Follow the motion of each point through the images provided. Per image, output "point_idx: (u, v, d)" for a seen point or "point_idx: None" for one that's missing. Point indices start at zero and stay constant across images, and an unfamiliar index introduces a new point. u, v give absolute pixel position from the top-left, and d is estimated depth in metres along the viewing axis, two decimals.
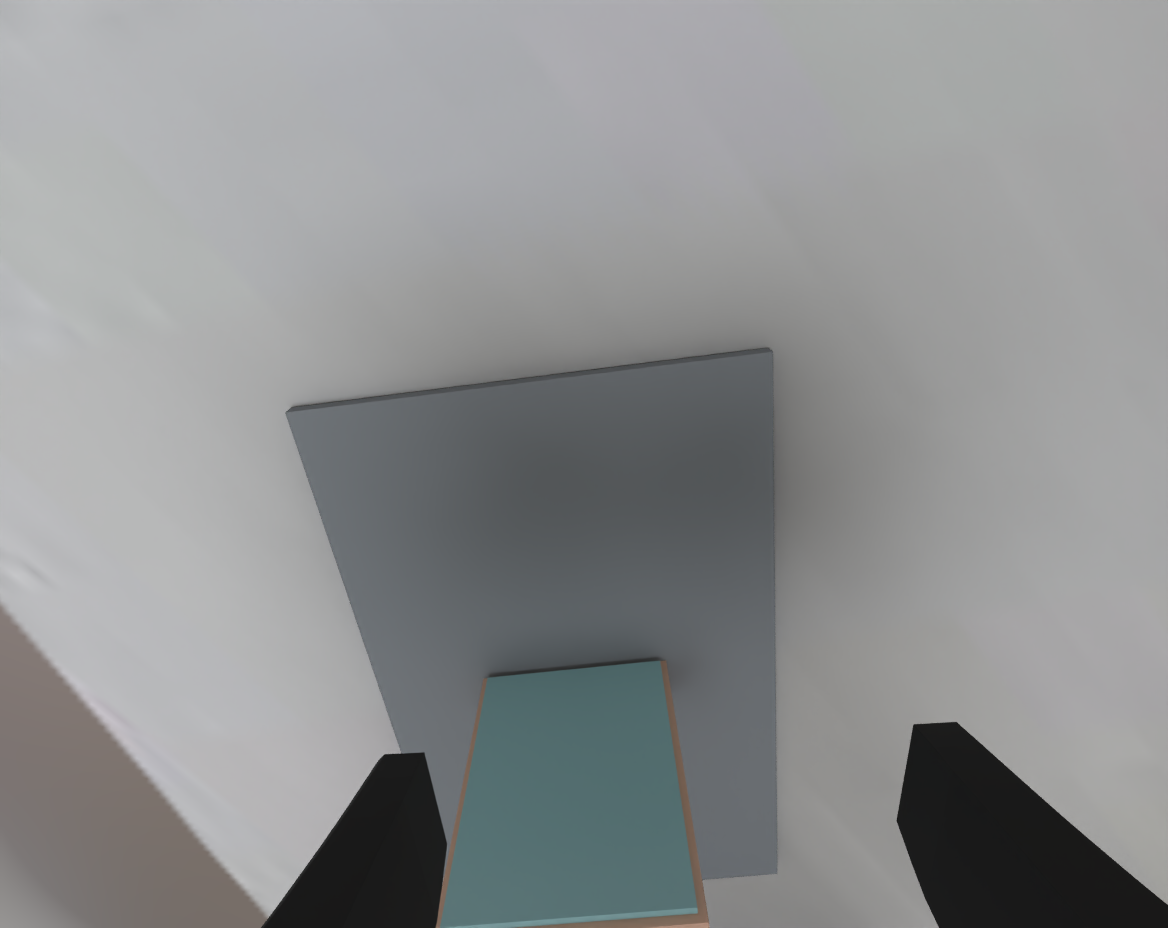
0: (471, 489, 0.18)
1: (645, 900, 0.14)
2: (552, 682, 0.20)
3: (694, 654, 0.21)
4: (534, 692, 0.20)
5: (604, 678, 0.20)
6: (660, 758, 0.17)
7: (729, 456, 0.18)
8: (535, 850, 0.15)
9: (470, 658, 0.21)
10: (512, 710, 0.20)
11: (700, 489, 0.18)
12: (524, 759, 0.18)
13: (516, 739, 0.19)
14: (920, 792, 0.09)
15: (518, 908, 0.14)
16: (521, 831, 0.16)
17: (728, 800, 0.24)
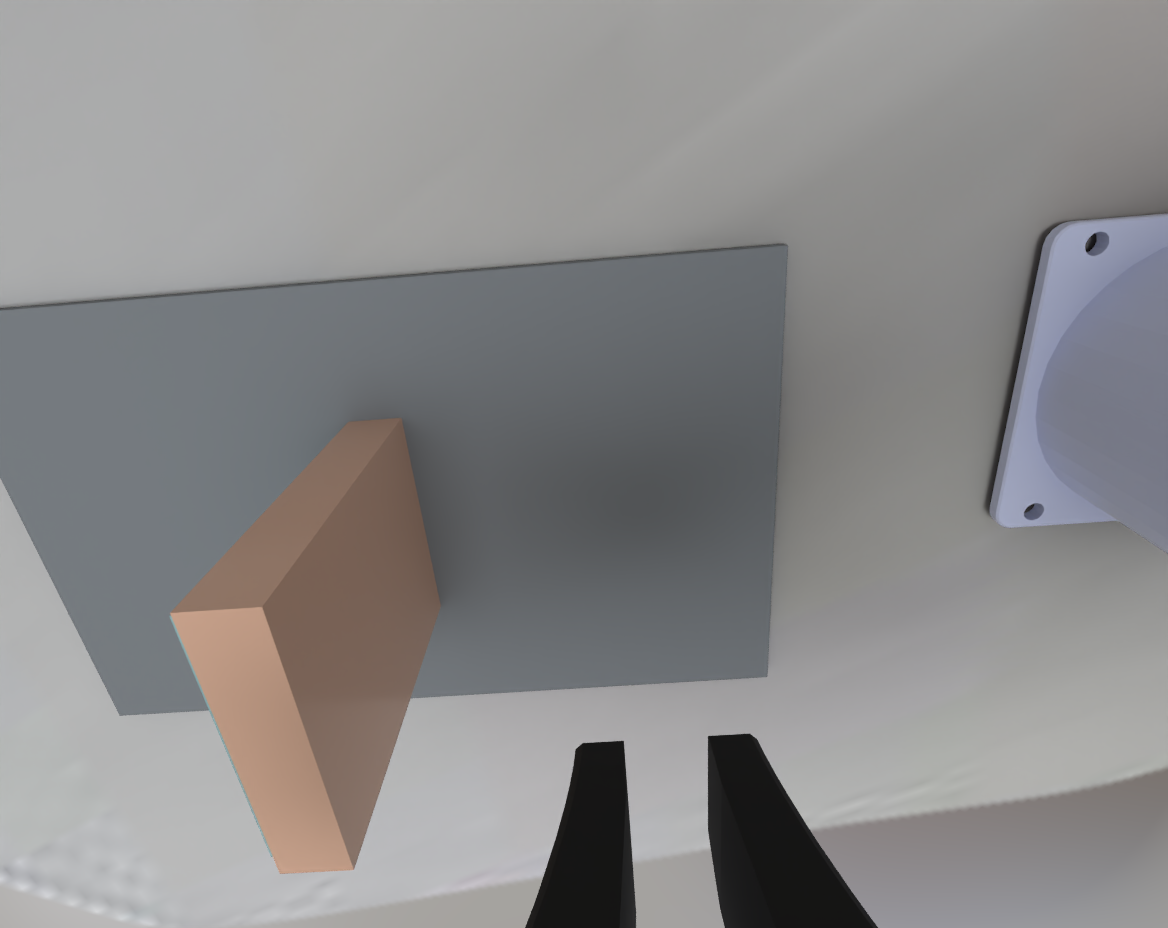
0: (158, 596, 0.19)
1: None
2: None
3: (335, 388, 0.17)
4: None
5: None
6: None
7: (52, 357, 0.16)
8: None
9: None
10: None
11: (101, 386, 0.17)
12: None
13: None
14: (713, 803, 0.09)
15: None
16: None
17: (603, 335, 0.16)
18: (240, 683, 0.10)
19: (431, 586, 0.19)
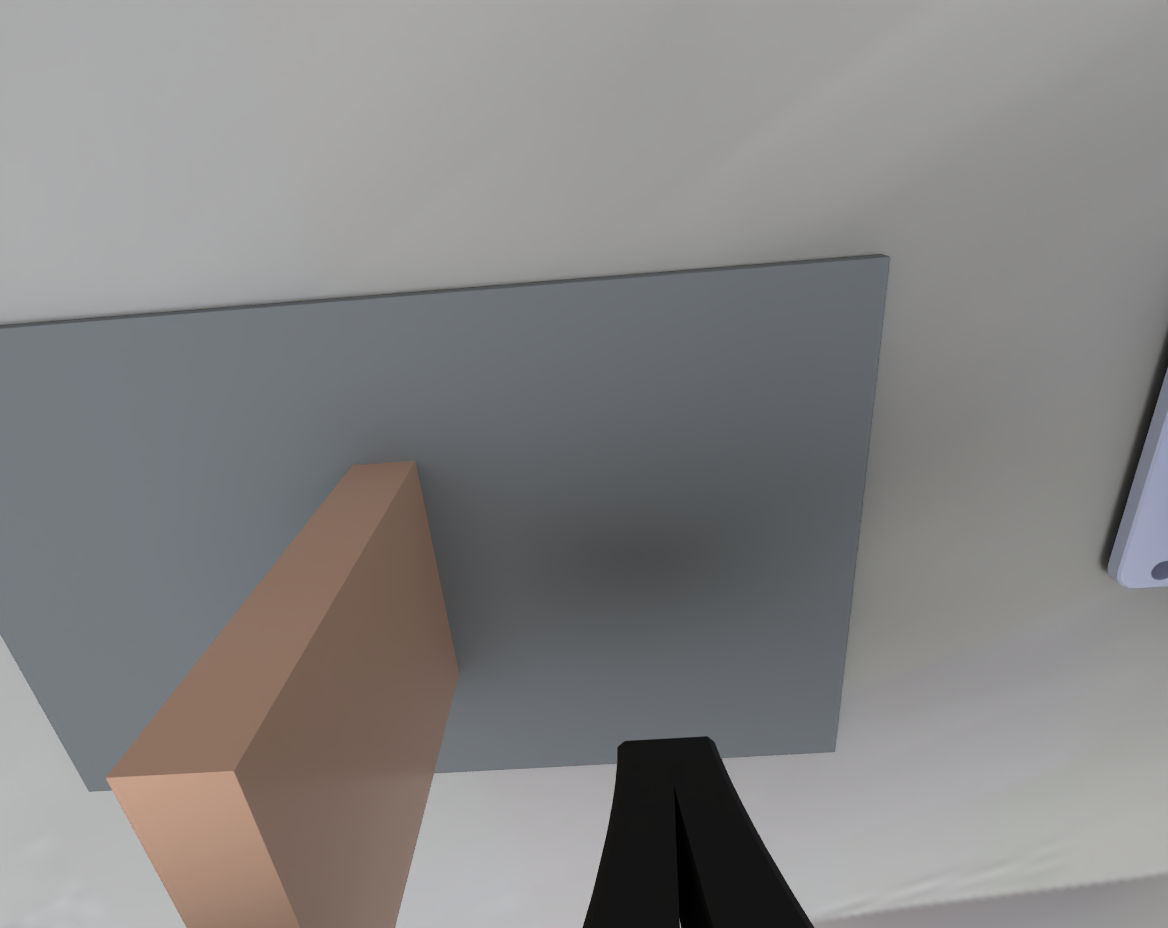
0: (130, 662, 0.17)
1: None
2: None
3: (336, 425, 0.14)
4: None
5: None
6: None
7: None
8: None
9: None
10: None
11: (56, 423, 0.14)
12: None
13: None
14: None
15: None
16: None
17: (661, 363, 0.13)
18: (207, 861, 0.07)
19: (449, 653, 0.16)
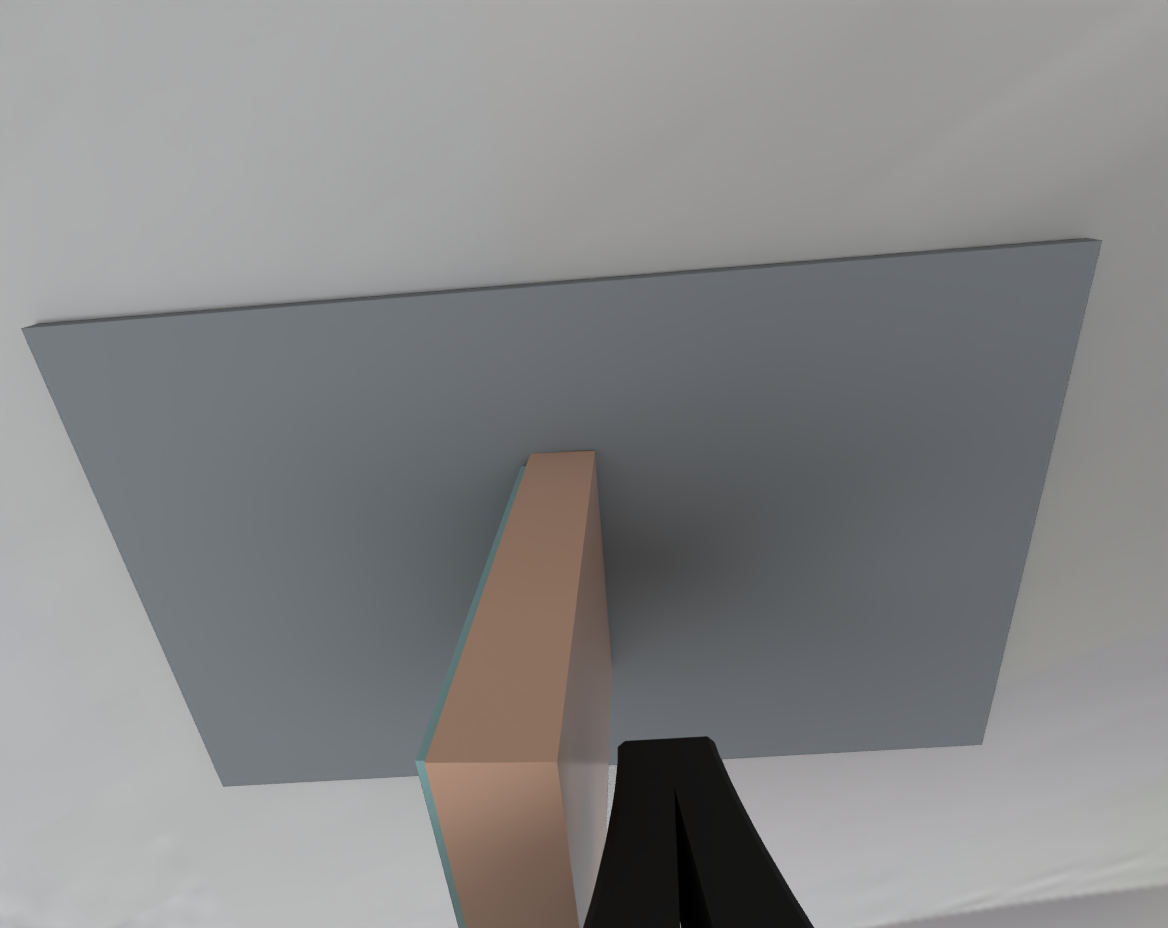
0: (281, 654, 0.16)
1: None
2: None
3: (519, 413, 0.14)
4: None
5: None
6: None
7: (179, 376, 0.13)
8: None
9: None
10: None
11: (236, 412, 0.14)
12: None
13: None
14: None
15: None
16: None
17: (856, 349, 0.13)
18: (504, 851, 0.07)
19: (609, 648, 0.16)
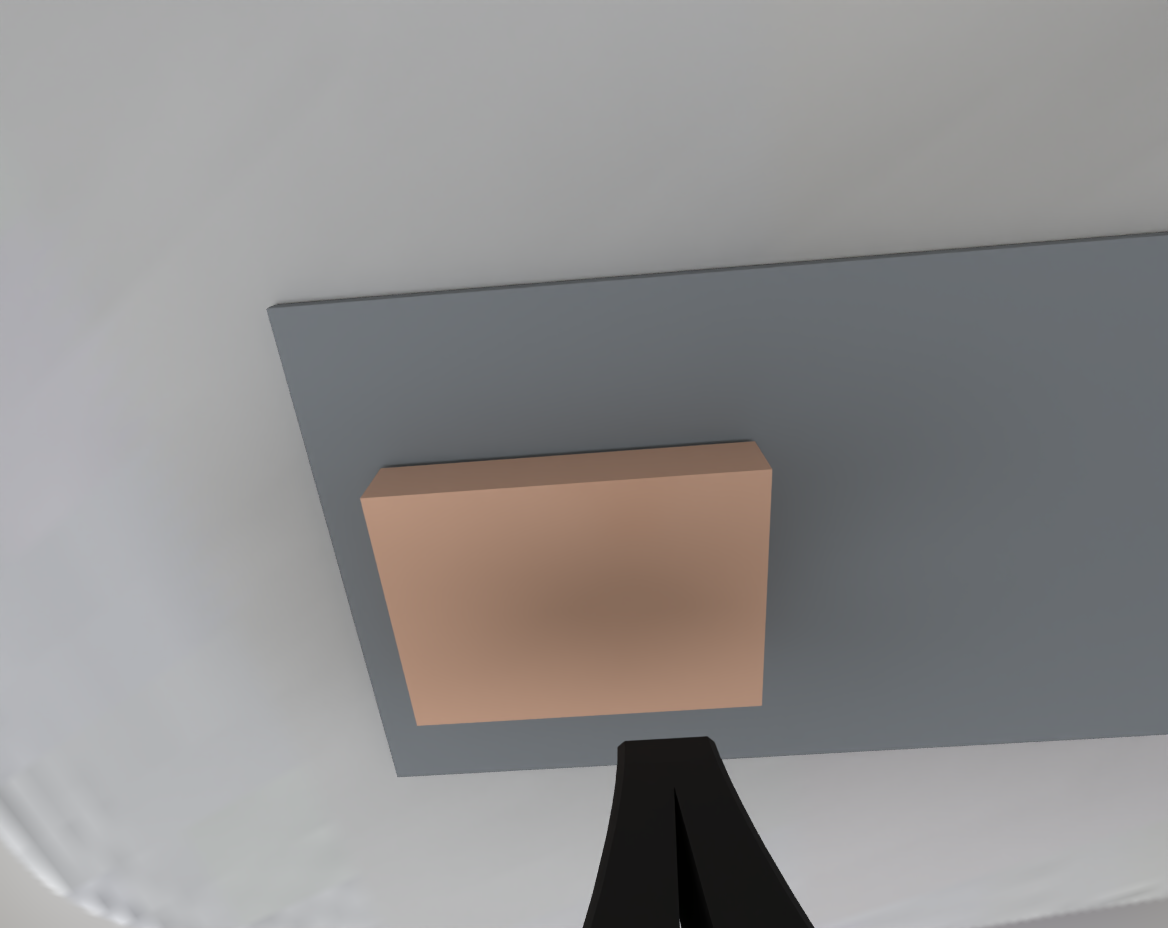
0: None
1: None
2: None
3: (758, 396, 0.13)
4: None
5: None
6: None
7: (419, 357, 0.13)
8: None
9: None
10: None
11: (471, 394, 0.13)
12: None
13: None
14: None
15: None
16: None
17: (1110, 330, 0.13)
18: None
19: (744, 673, 0.14)
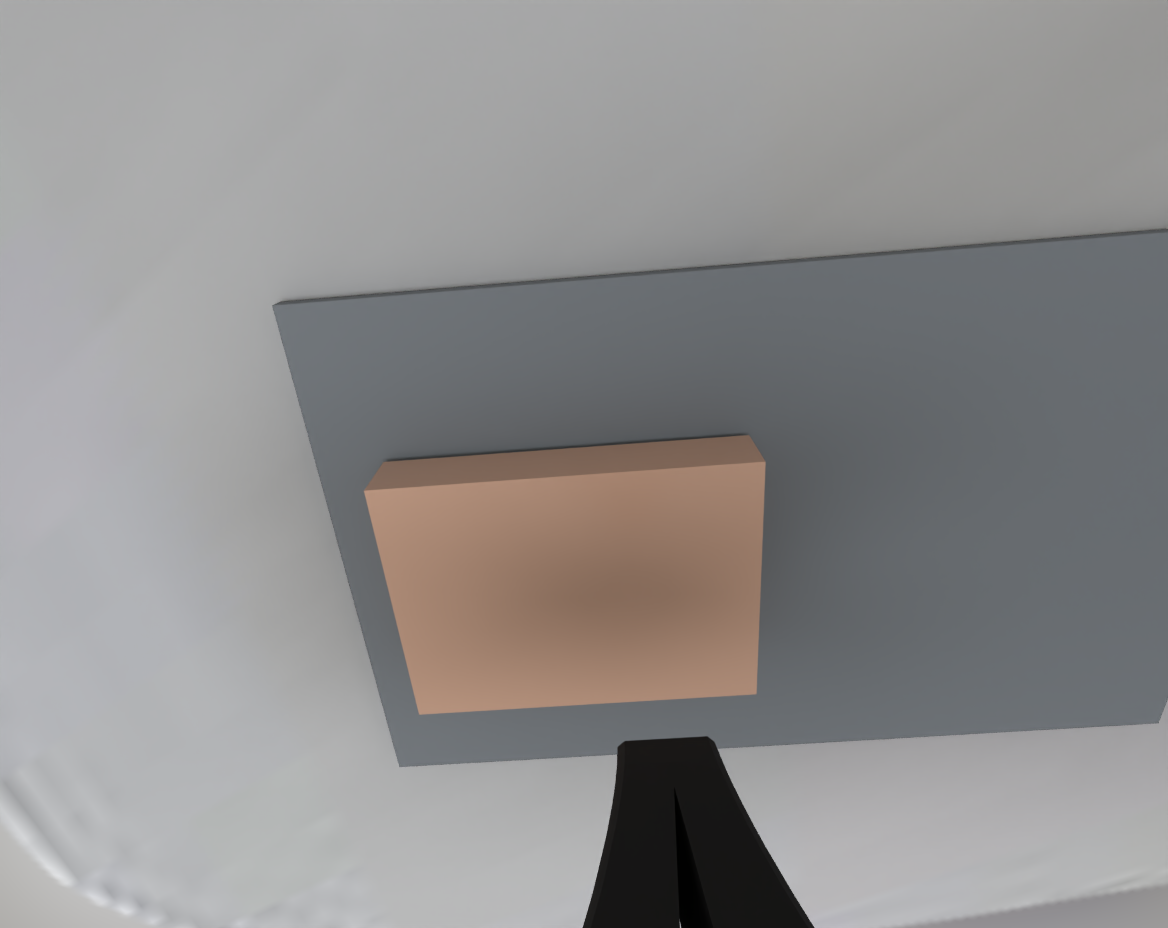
0: None
1: None
2: None
3: (752, 391, 0.14)
4: None
5: None
6: None
7: (421, 353, 0.13)
8: None
9: None
10: None
11: (472, 389, 0.14)
12: None
13: None
14: None
15: None
16: None
17: (1094, 326, 0.13)
18: None
19: (739, 661, 0.15)
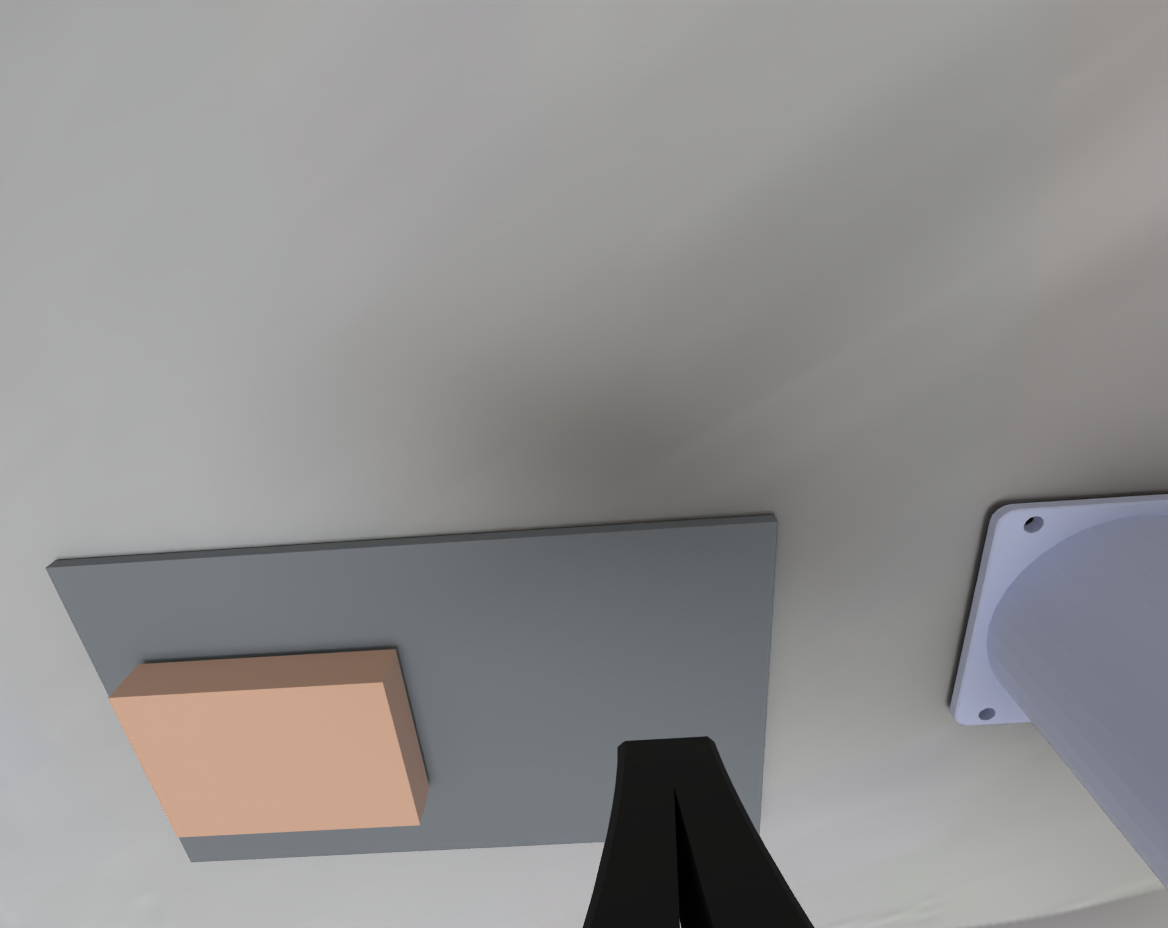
0: None
1: None
2: None
3: (394, 620, 0.20)
4: None
5: None
6: None
7: (155, 596, 0.19)
8: None
9: None
10: None
11: (195, 618, 0.19)
12: None
13: None
14: None
15: None
16: None
17: (623, 583, 0.19)
18: None
19: (401, 804, 0.21)
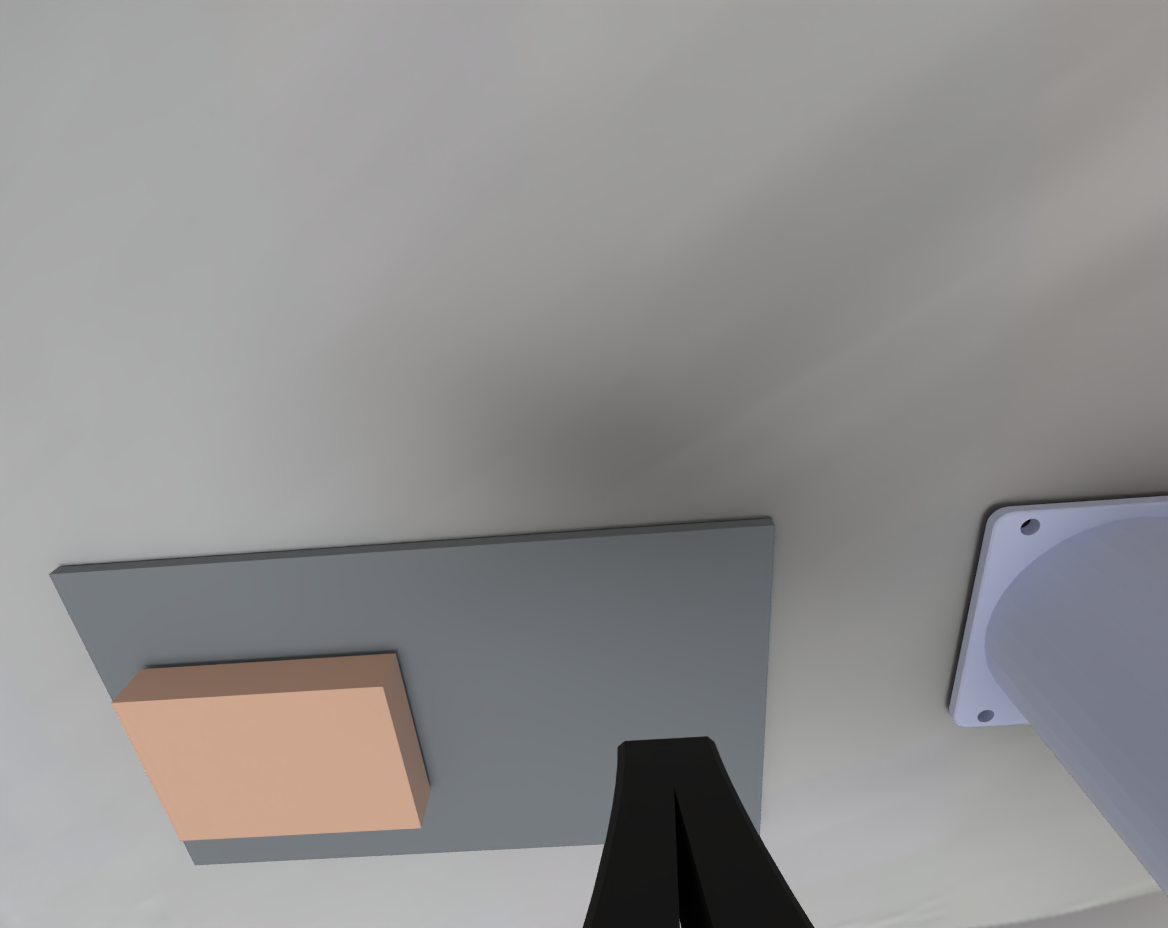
0: None
1: None
2: None
3: (394, 624, 0.20)
4: None
5: None
6: None
7: (157, 602, 0.19)
8: None
9: None
10: None
11: (197, 623, 0.20)
12: None
13: None
14: None
15: None
16: None
17: (621, 587, 0.19)
18: None
19: (402, 807, 0.21)
